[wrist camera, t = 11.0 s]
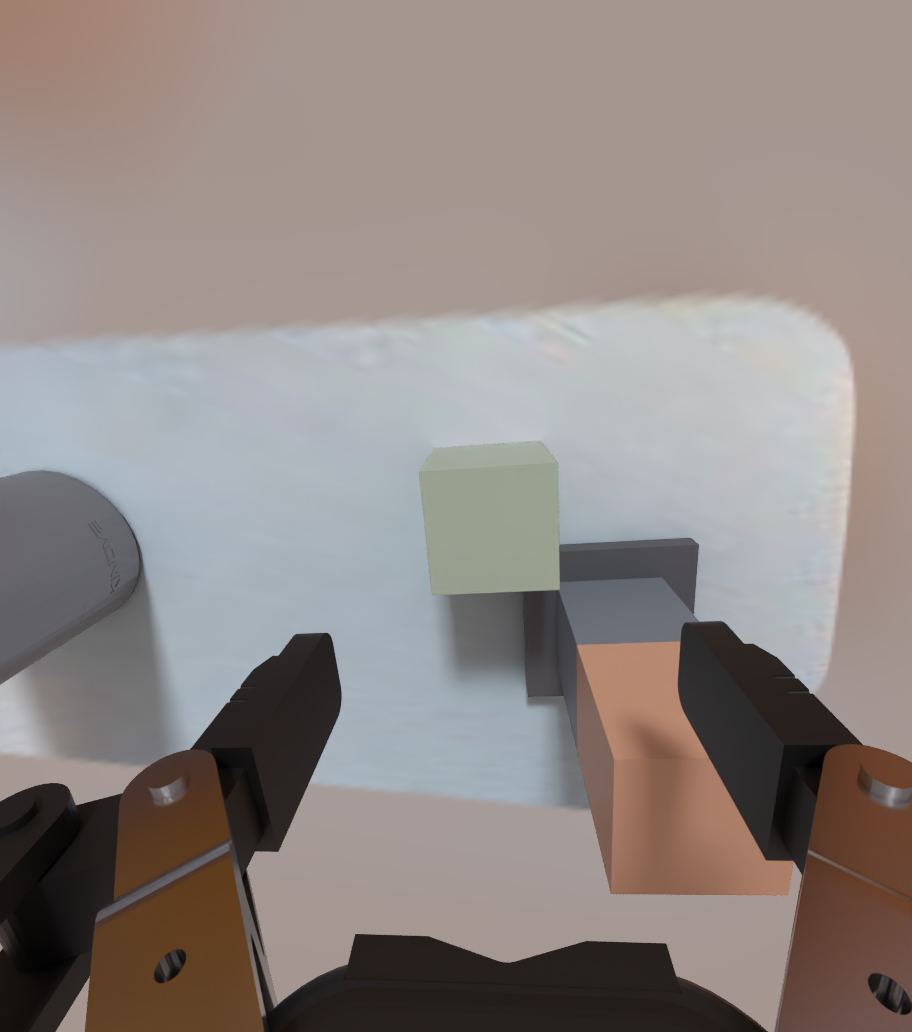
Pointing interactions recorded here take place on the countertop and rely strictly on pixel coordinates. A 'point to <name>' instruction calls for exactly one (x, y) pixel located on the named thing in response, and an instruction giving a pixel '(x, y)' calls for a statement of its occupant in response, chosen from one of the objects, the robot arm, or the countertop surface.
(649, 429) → the countertop surface
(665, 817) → the brick terracotta
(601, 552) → the tower base
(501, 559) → the brick sage
